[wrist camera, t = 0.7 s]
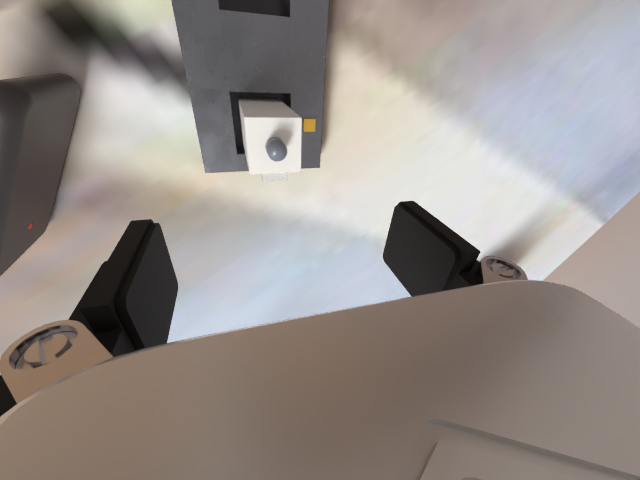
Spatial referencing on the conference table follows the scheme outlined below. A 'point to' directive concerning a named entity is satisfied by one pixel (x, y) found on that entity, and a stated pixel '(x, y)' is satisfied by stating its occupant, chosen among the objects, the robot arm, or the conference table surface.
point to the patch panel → (252, 69)
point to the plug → (270, 137)
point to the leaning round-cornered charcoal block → (32, 155)
